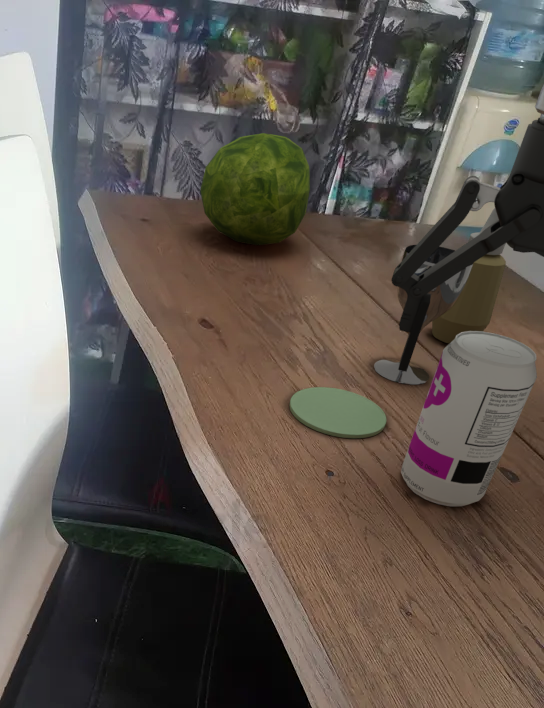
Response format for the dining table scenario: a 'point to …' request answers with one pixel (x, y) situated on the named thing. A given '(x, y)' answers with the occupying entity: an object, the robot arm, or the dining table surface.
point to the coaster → (337, 412)
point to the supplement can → (468, 417)
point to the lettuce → (257, 189)
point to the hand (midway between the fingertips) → (478, 383)
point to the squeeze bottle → (474, 295)
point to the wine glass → (439, 305)
